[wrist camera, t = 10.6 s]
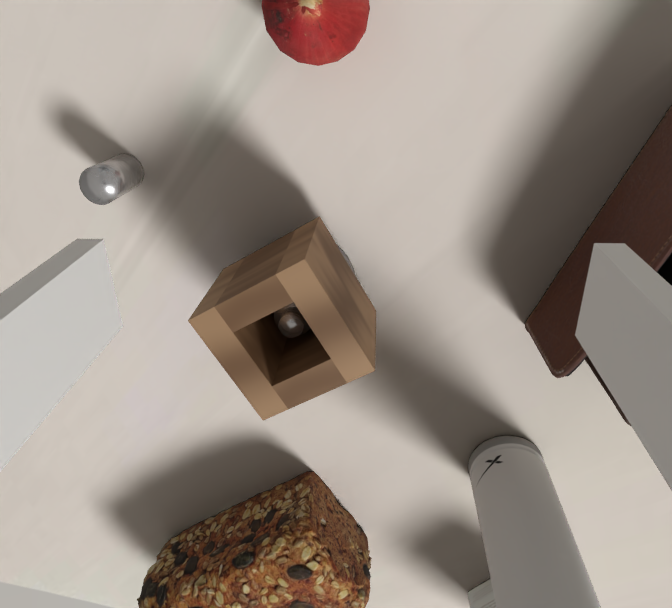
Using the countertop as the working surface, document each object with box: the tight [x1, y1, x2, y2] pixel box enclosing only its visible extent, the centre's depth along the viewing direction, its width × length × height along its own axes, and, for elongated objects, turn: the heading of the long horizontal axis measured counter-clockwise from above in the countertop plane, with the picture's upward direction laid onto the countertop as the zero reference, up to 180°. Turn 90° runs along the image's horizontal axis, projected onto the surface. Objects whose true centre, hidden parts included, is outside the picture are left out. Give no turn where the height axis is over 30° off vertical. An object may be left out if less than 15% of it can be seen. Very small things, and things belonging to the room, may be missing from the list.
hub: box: [274, 247, 355, 338], centre depth 38 cm, size 8×8×7 cm
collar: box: [188, 216, 376, 420], centre depth 36 cm, size 8×8×8 cm
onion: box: [262, 0, 370, 66], centre depth 30 cm, size 6×6×8 cm
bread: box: [137, 471, 371, 608], centre depth 49 cm, size 19×11×10 cm, turn 123°
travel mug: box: [468, 436, 601, 608], centre depth 38 cm, size 6×7×20 cm
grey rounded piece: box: [79, 154, 144, 205], centre depth 37 cm, size 2×2×4 cm
